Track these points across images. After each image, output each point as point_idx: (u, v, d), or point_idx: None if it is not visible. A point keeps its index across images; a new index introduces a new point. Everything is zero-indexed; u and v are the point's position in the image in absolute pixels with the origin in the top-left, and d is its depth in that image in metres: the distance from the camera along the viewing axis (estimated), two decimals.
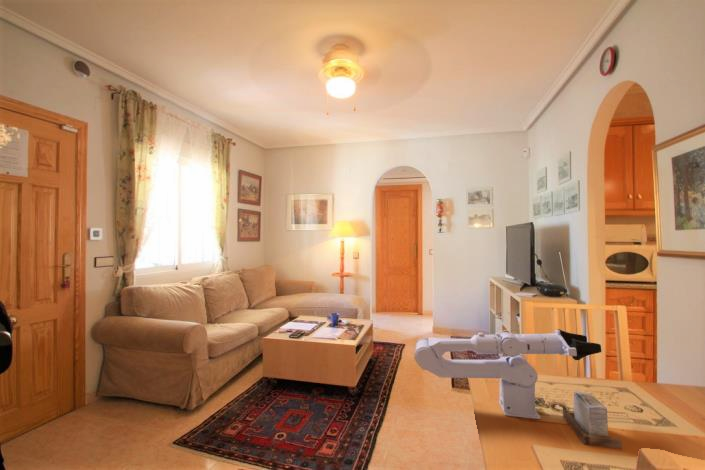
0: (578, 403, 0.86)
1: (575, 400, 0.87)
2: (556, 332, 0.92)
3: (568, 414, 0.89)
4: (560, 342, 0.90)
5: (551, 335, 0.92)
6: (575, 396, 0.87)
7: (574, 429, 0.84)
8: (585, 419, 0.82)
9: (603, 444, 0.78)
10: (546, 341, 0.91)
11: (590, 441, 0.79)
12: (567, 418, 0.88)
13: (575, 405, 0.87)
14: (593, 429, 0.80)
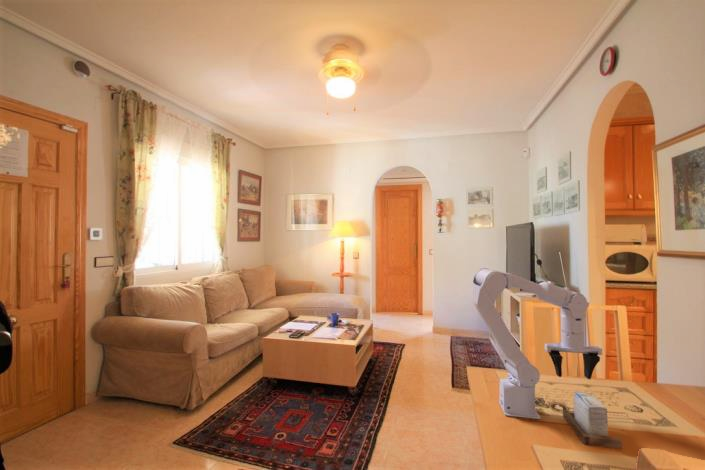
0: (578, 403, 0.86)
1: (575, 400, 0.87)
2: None
3: (568, 414, 0.89)
4: None
5: None
6: (575, 396, 0.87)
7: (574, 429, 0.84)
8: (585, 419, 0.82)
9: (603, 444, 0.78)
10: None
11: (590, 441, 0.79)
12: (567, 418, 0.88)
13: (575, 405, 0.87)
14: (593, 429, 0.80)
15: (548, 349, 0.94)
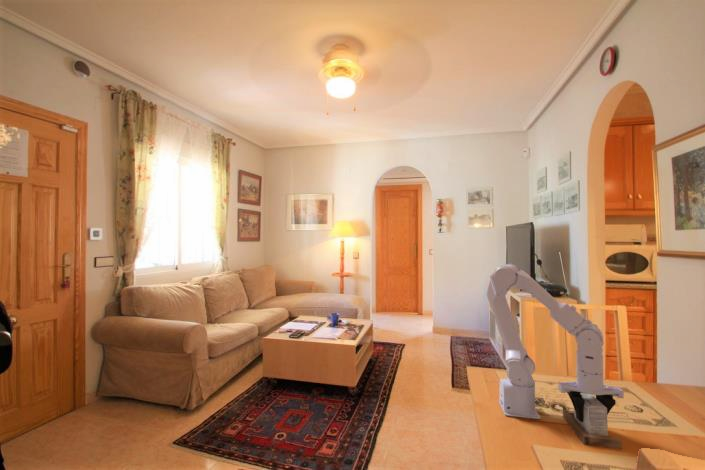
0: None
1: None
2: None
3: (568, 414, 0.89)
4: None
5: None
6: None
7: (574, 429, 0.84)
8: (585, 419, 0.82)
9: (603, 444, 0.78)
10: None
11: (590, 441, 0.79)
12: (567, 418, 0.88)
13: None
14: (593, 429, 0.80)
15: (562, 390, 0.85)
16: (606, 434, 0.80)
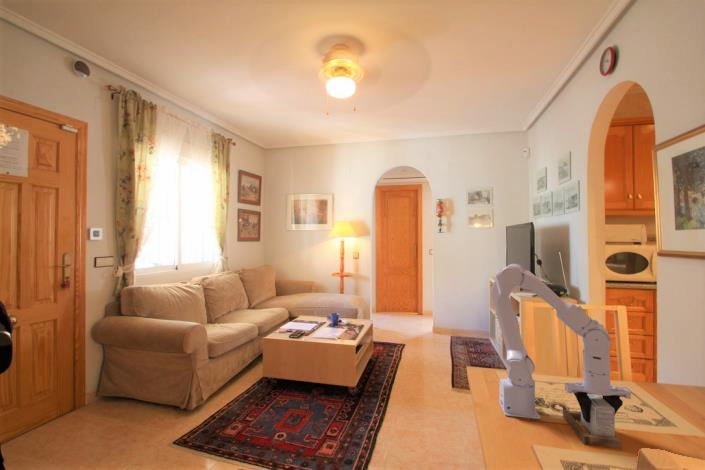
0: None
1: None
2: None
3: (568, 414, 0.89)
4: None
5: None
6: None
7: (574, 429, 0.84)
8: (591, 419, 0.82)
9: (603, 444, 0.78)
10: None
11: (590, 441, 0.79)
12: (567, 418, 0.88)
13: None
14: (599, 429, 0.80)
15: (569, 390, 0.84)
16: (613, 435, 0.79)
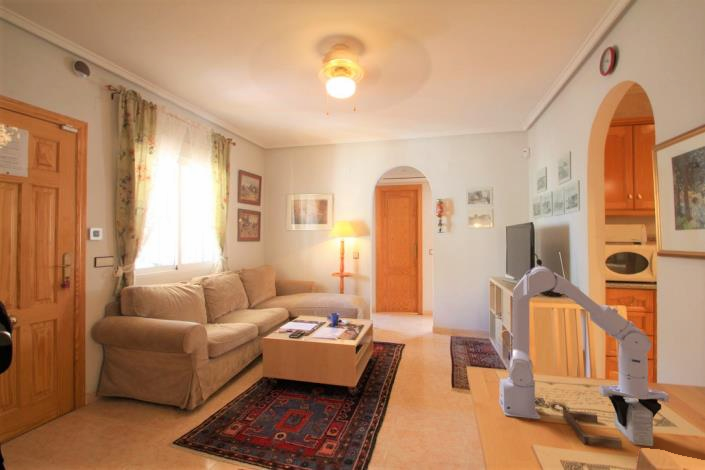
0: None
1: None
2: None
3: (568, 414, 0.89)
4: None
5: None
6: None
7: (574, 429, 0.84)
8: (628, 423, 0.80)
9: (603, 444, 0.78)
10: None
11: (590, 441, 0.79)
12: (567, 418, 0.88)
13: None
14: (637, 433, 0.78)
15: (605, 393, 0.82)
16: (651, 439, 0.78)
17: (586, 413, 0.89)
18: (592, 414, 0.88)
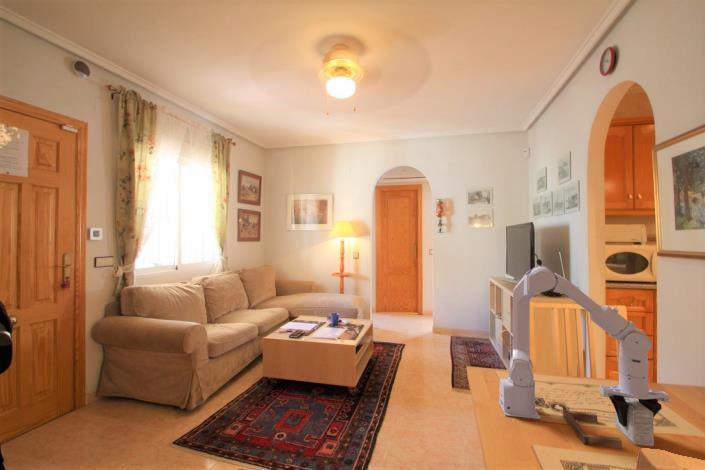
0: None
1: None
2: None
3: (568, 414, 0.89)
4: None
5: None
6: None
7: (574, 429, 0.84)
8: (629, 423, 0.80)
9: (603, 444, 0.78)
10: None
11: (590, 441, 0.79)
12: (567, 418, 0.88)
13: None
14: (638, 434, 0.78)
15: (605, 394, 0.82)
16: (652, 439, 0.78)
17: (586, 413, 0.89)
18: (592, 414, 0.88)
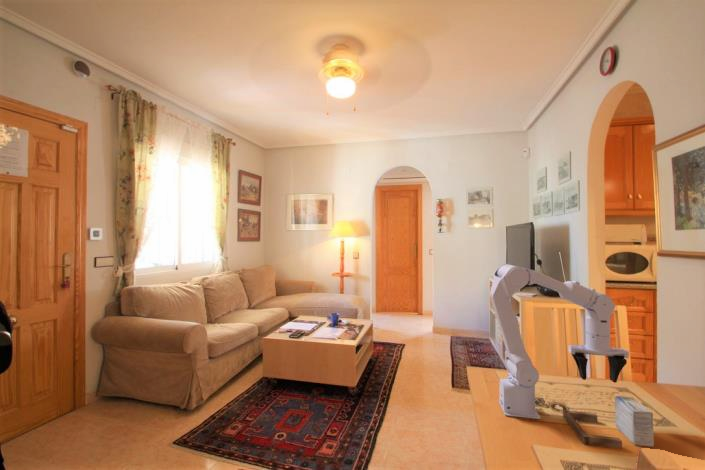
0: (620, 407, 0.84)
1: (616, 404, 0.85)
2: None
3: (568, 414, 0.89)
4: None
5: None
6: (616, 400, 0.85)
7: (574, 429, 0.84)
8: (628, 423, 0.80)
9: (603, 444, 0.78)
10: None
11: (590, 441, 0.79)
12: (567, 418, 0.88)
13: (616, 409, 0.85)
14: (638, 434, 0.78)
15: (572, 351, 0.93)
16: (652, 439, 0.78)
17: (586, 413, 0.89)
18: (592, 414, 0.88)
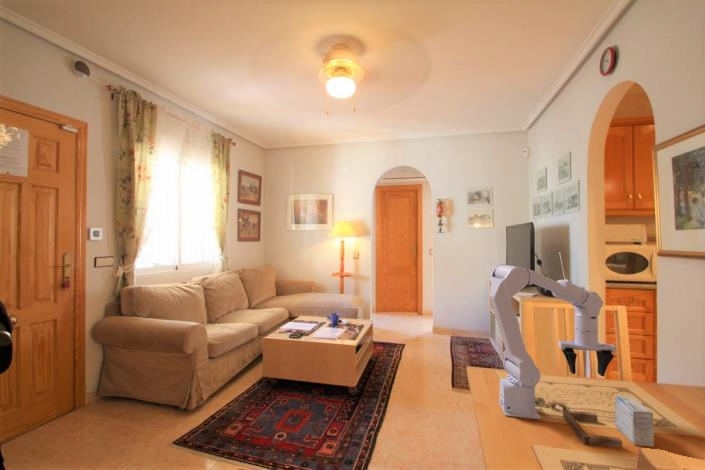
0: (620, 407, 0.84)
1: (616, 404, 0.85)
2: None
3: (568, 414, 0.89)
4: None
5: None
6: (616, 400, 0.85)
7: (574, 429, 0.84)
8: (628, 423, 0.80)
9: (603, 444, 0.78)
10: None
11: (590, 441, 0.79)
12: (567, 418, 0.88)
13: (616, 409, 0.85)
14: (638, 434, 0.78)
15: (562, 347, 0.96)
16: (652, 439, 0.78)
17: (586, 413, 0.89)
18: (592, 414, 0.88)
